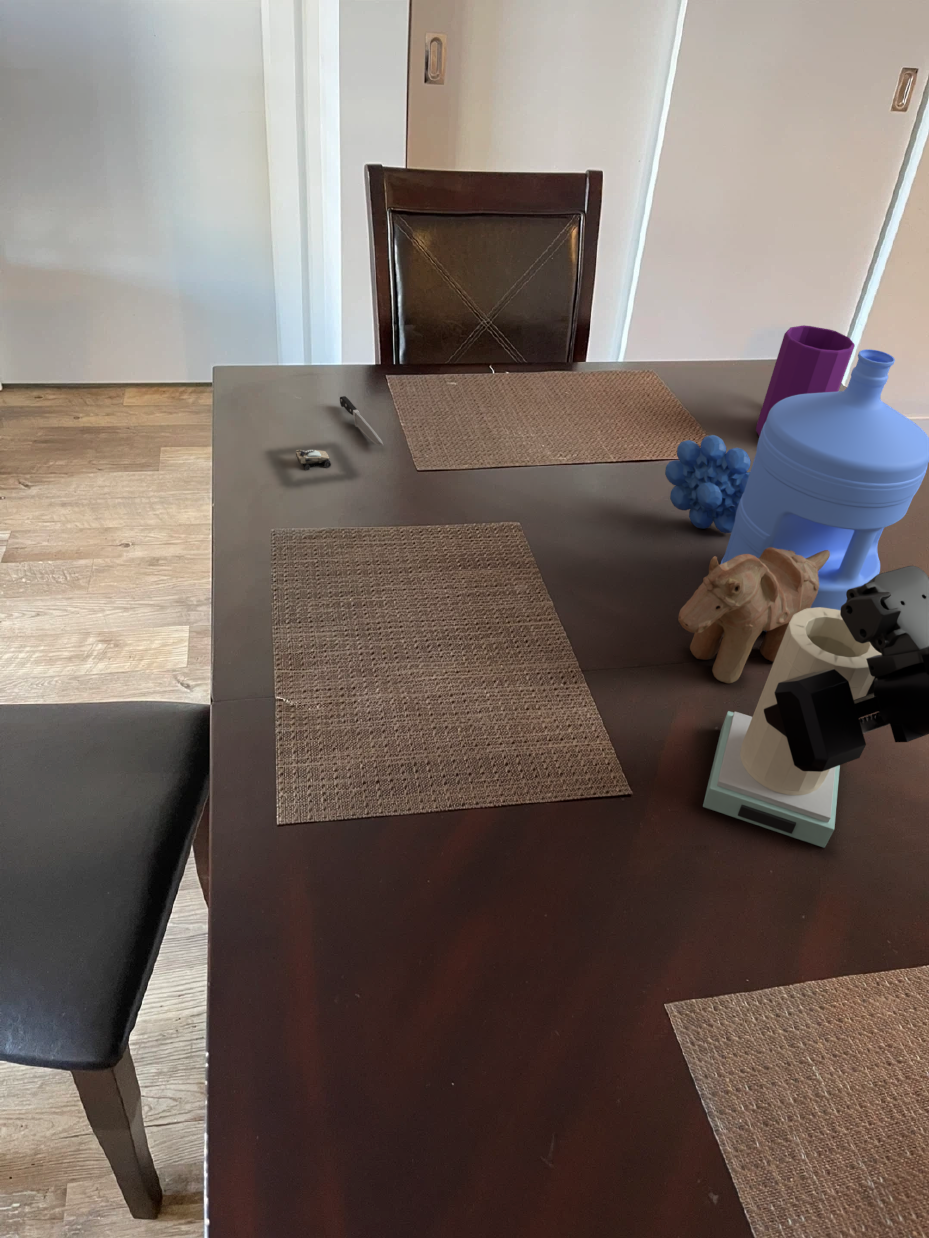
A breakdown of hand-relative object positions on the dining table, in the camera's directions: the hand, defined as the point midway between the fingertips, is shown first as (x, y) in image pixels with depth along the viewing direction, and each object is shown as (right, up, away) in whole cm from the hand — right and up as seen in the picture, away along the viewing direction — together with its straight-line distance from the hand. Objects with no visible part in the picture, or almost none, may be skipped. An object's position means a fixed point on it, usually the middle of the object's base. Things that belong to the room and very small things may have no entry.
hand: (811, 700), depth 72 cm
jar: (-1, -6, +5) cm, 8 cm away
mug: (+20, +34, +62) cm, 74 cm away
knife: (-41, +32, +52) cm, 73 cm away
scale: (-1, -8, +7) cm, 11 cm away
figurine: (-1, +2, +19) cm, 19 cm away
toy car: (-47, +26, +44) cm, 69 cm away
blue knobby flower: (+1, +17, +38) cm, 42 cm away
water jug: (+8, +8, +29) cm, 31 cm away
